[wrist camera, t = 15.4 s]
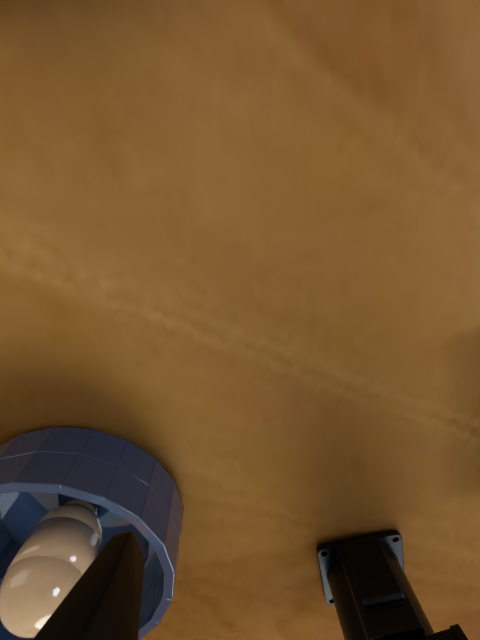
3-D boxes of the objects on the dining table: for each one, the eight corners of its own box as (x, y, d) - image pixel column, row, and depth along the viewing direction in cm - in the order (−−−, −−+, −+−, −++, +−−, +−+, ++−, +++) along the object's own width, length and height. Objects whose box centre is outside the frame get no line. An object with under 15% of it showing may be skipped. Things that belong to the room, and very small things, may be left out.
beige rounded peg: (119, 529, 24) (81, 649, 17) (59, 542, 24) (-1, 665, 17) (99, 482, 22) (49, 593, 16) (35, 495, 22) (-41, 611, 16)
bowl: (203, 558, 26) (199, 637, 21) (24, 594, 26) (-19, 680, 21) (151, 402, 21) (131, 458, 16) (-65, 447, 21) (-147, 515, 17)
